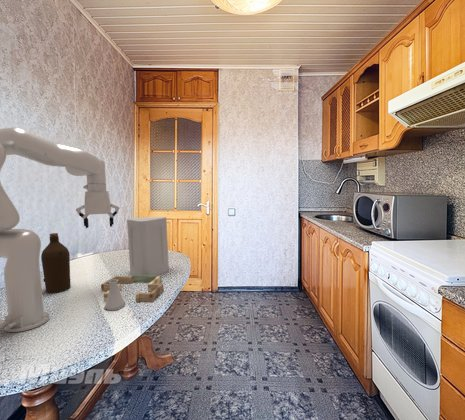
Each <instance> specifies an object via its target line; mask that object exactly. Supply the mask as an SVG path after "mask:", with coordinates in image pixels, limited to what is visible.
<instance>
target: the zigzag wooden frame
mask: <svg viewBox="0 0 465 420" xmlns="http://www.w3.org/2000/svg"><path fill="white" fill-rule="evenodd" d="M115 279H116V280H118V288H119V291H121V292H122V285H121V284H123V285H124V284H127V285H128V284H130V285H131V284H133V283H148V284H147V292H137V293H136V294H135V303H140V302H144V301H146V302H148V303H149V302H150V303H151V302H154V301H155V300H156V299H157V298H158V297H159V296H160V295H161V294H163V292H164V290H165V289H164V283H162V274H160V275H132V274H130V275H129V276H124V275H122V276H121V275H120V276H119V275H118V276H117V275H115V276H113V277H111V278H110V279H108V280H106V281H105V282H103V283H102V284H100V287H101V288H100V291H101V292H102V291H107V292H104V293H103V302H106V301H107V298H108V294H109V289H110V284H109V281H110V280H115ZM139 301H140V302H139ZM146 302H145V303H146Z"/></svg>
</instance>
